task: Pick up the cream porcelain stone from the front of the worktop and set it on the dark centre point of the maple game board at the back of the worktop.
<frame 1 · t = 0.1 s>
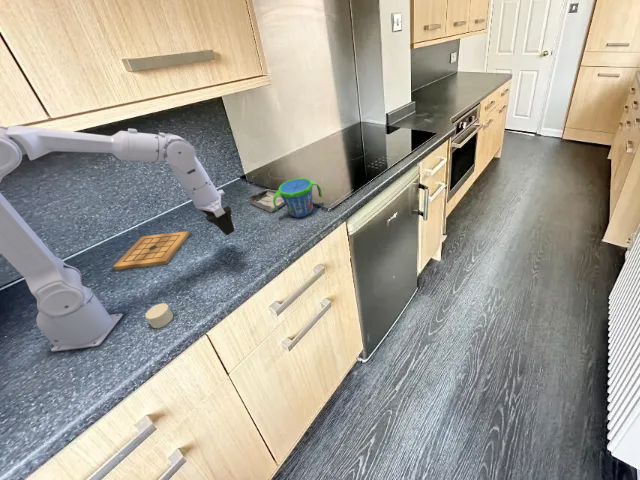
hand: (224, 226, 82), 11 cm above the worktop, tool pointing down, fingers open, 7 cm apart
board: (154, 251, 92), on the worktop
snack cup: (301, 212, 106), on the worktop
stone: (162, 320, 69), on the worktop
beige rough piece: (271, 203, 113), on the worktop
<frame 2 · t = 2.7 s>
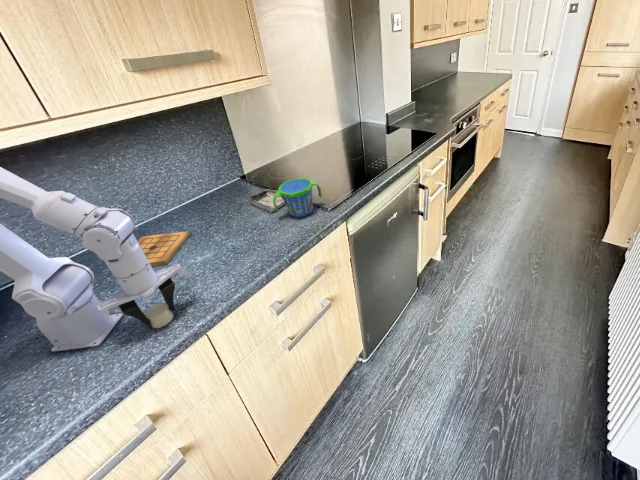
hand: (159, 315, 69), 1 cm above the worktop, tool pointing down, fingers closed on stone, 4 cm apart
stone: (162, 320, 70), on the worktop, touching gripper
everything else where it was.
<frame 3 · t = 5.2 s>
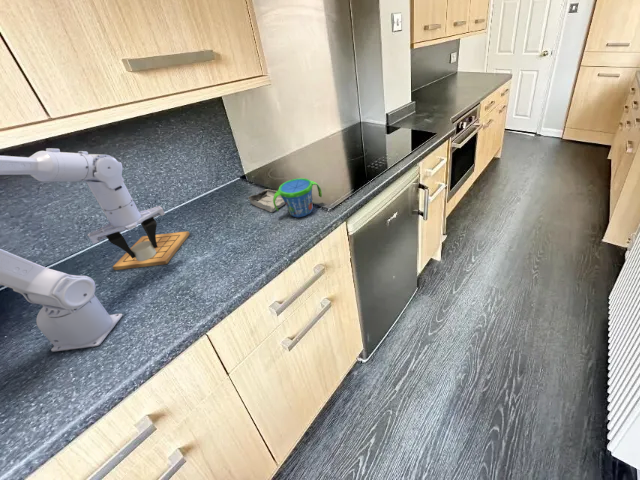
hand: (143, 251, 78), 8 cm above the worktop, tool pointing down, fingers closed on stone, 4 cm apart
stone: (146, 255, 79), point 7 cm above the worktop, touching gripper
everything else where it was.
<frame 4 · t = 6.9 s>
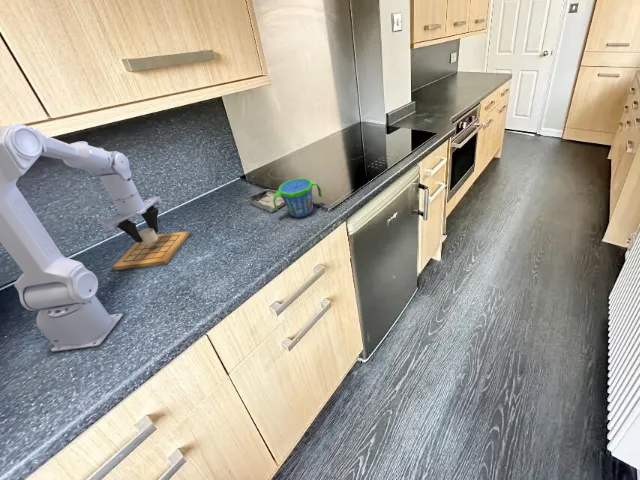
hand: (147, 236, 90), 5 cm above the worktop, tool pointing down, fingers closed on stone, 4 cm apart
stone: (149, 240, 91), point 4 cm above the worktop, touching gripper
everything else where it was.
when the fingers open (3 cm above the worktop, at t = 8.0 s): stone stays where it is, resting on board.
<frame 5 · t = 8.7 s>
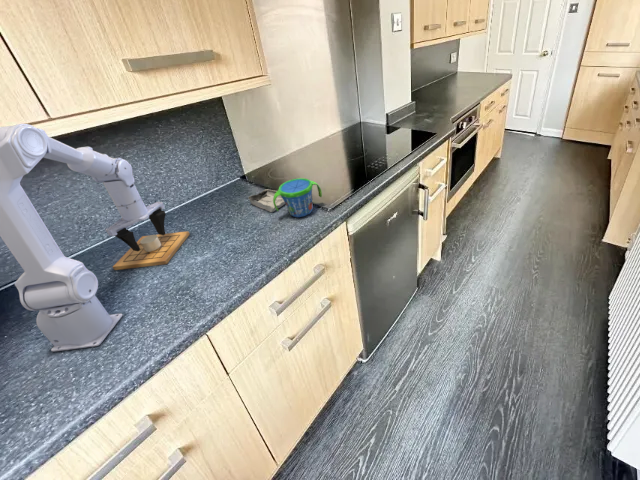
hand: (149, 241, 91), 3 cm above the worktop, tool pointing down, fingers open, 7 cm apart
stone: (153, 247, 92), point 1 cm above the worktop, touching board
everything else where it was.
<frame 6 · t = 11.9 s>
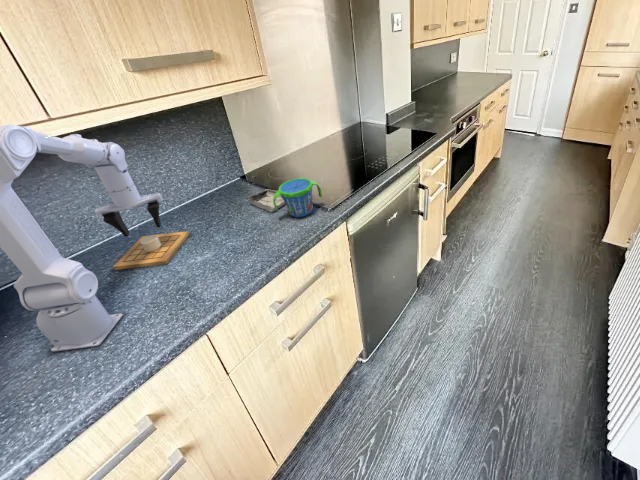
hand: (143, 230, 89), 8 cm above the worktop, tool pointing down, fingers open, 7 cm apart
nothing on the worktop moved.
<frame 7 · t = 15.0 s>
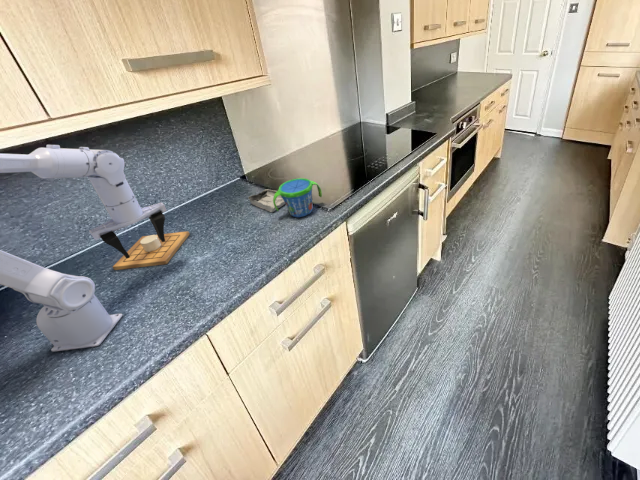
hand: (145, 248, 78), 9 cm above the worktop, tool pointing down, fingers open, 7 cm apart
nothing on the worktop moved.
at the end: stone 0.1 cm off-centre on the board, point 1.3 cm above the board's base; stone tilted 0°; the gripper is holding nothing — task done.
